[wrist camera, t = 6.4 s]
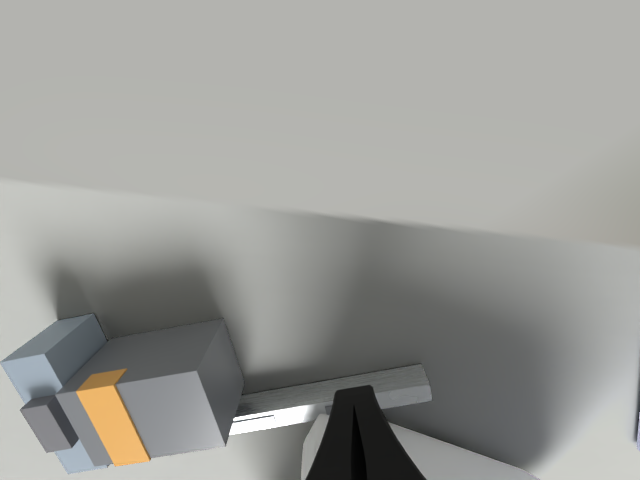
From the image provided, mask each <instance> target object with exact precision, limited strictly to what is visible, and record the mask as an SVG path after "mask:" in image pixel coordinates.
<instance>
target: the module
mask: <svg viewBox="0 0 640 480" xmlns="http://www.w3.org/2000/svg"><path fill="white" fill-rule="evenodd" d="M244 384H245V382H244V379H243V375H242V372H241V369H240V366H239V363H238V360H237V357H236V354H235V351H234V348H233V345H232V342H231V339H230V336H229V333H228V330H227V327H226V324H225V321H224V318H222V319H217V320H211V321H206V322H200V323H194V324H189V325H183V326H178V327H172V328H166V329H161V330H155V331H150V332H144V333H138V334H133V335H127V336H122V337H116V338H111V339H110V340H109V341H108V342H107V343H106V344H105V345H104V346H103V347H102V348H101V349H100V350H99V351H98V352H97V353H96V354H95V355H94V356H93V357H92V358H91V359H90V360H89V361H88V362H87V363H86V364H85V365H84V366H83V367H82V368H81V369H80V370H79V371H78V372H77V373H76V374H75V375H74V376H73V377H72V378H71V379H70V380H69V381H68V382H67V383H66V384H65V385H64V386H63V387H62V388H61V389H60V390H59V391H58V392H57V393H56V394H55V396H56V398H57V400H58V401H59V403H60V405H61V407H62V409H63V410H64V412H65V414H66V416H67V418H68V419H69V421H70V423H71V425H72V427H73V429H74V430H75V432H76V434H77V436H78V438H79V439H80V441H81V443H82V445H83V447H84V448H85V450H86V452H87V454H88V456H89V458H90V459H91V461H92V463H93V465H94V467H96V466H102V465H109V464H114V465H115V466H121V465H128V464H134V463H141V462H147V461H150V460H151V458H155V457H161V456H168V455H174V454H181V453H188V452H194V451H201V450H207V449H214V448H220V447H226V444H227V440H228V437H229V434H230V430H231V427H232V424H233V420H234V417H235V414H236V410H237V407H238V404H239V400H240V397H241V394H242V390H243V387H244Z"/></svg>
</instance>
